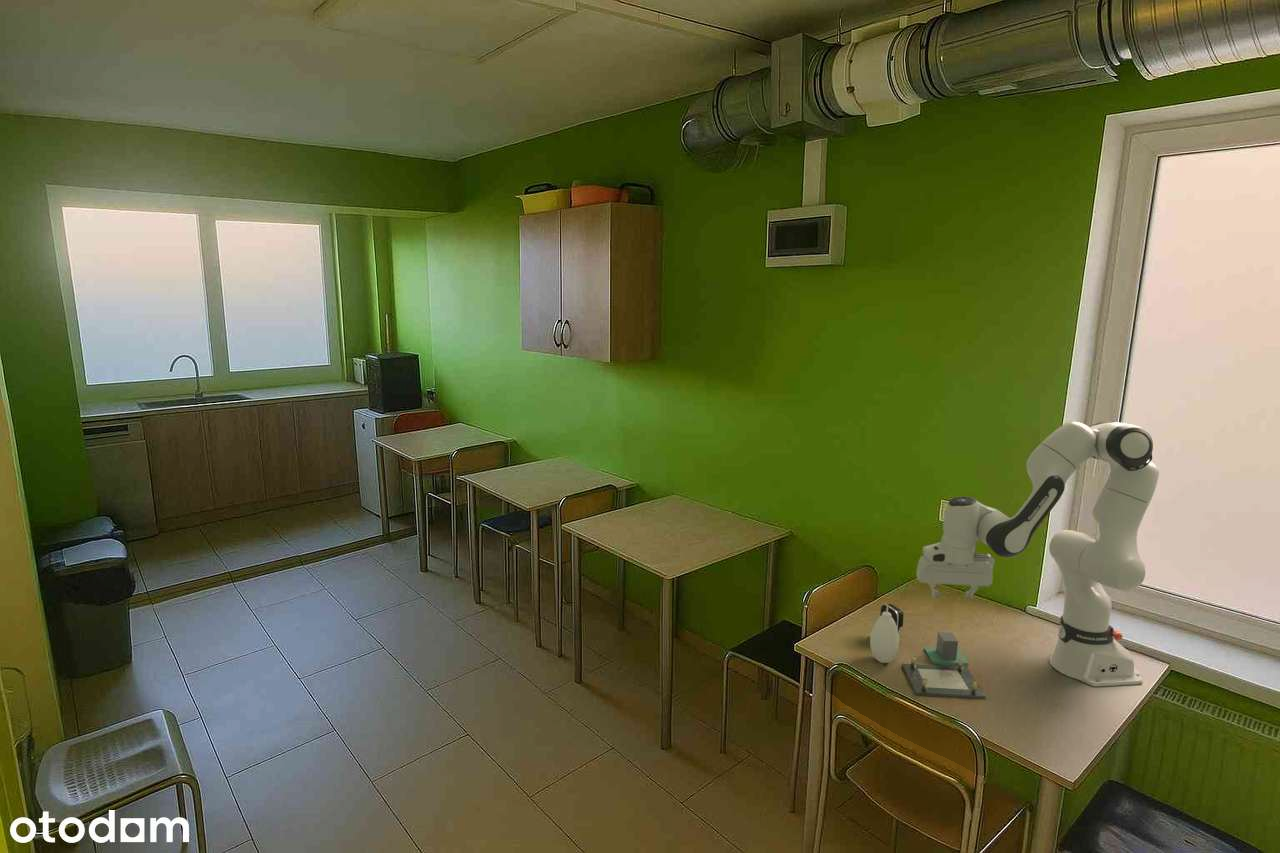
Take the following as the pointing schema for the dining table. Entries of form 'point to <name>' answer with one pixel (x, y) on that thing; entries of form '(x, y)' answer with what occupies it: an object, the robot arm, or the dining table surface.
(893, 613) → the battery charger
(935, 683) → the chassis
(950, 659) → the board
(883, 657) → the white air blower bulb
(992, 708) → the dining table surface
